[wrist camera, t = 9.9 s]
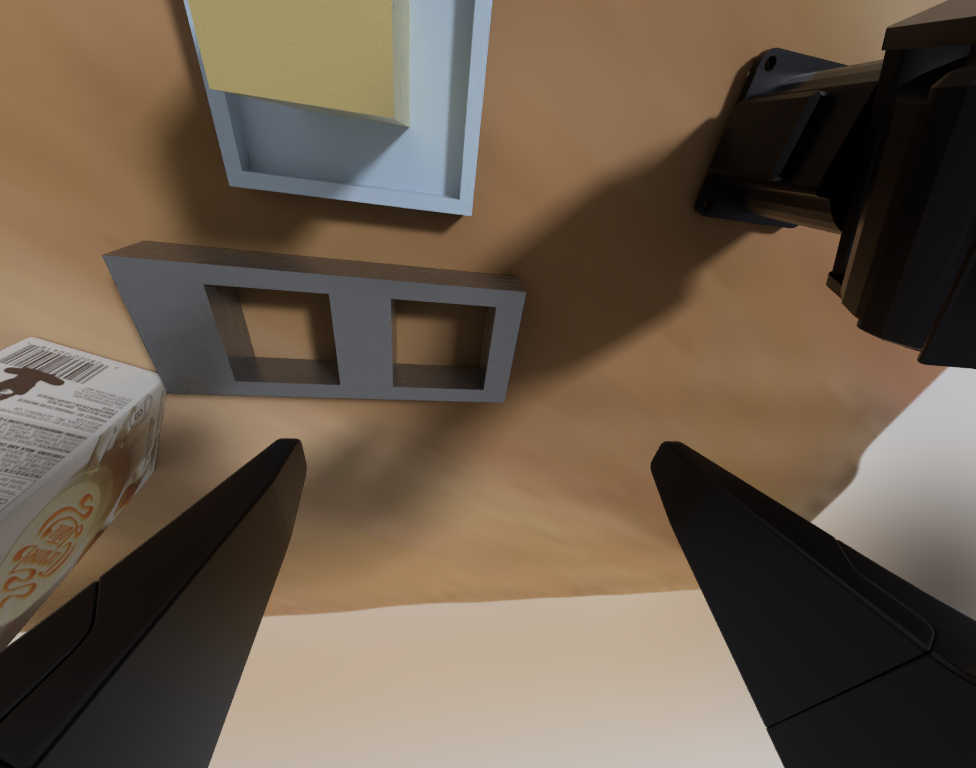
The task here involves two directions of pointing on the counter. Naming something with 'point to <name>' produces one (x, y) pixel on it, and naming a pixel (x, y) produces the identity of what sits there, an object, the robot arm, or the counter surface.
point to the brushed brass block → (310, 54)
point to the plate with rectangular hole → (355, 316)
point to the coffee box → (65, 462)
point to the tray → (374, 126)
